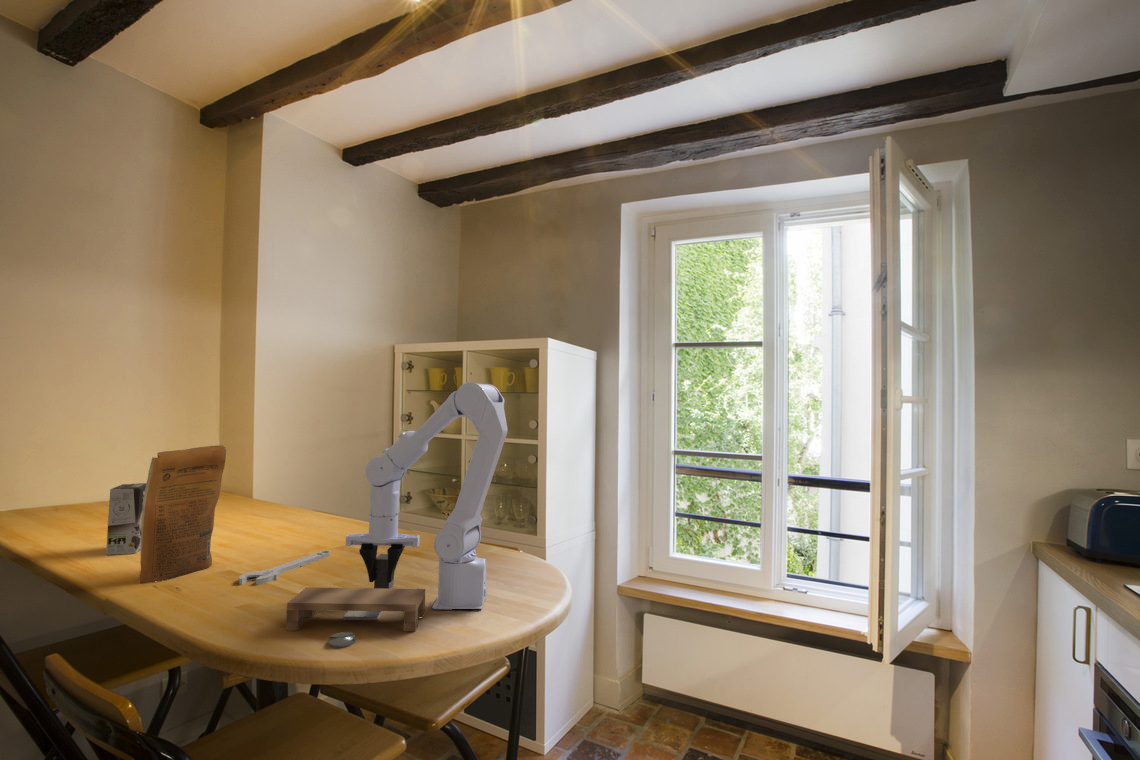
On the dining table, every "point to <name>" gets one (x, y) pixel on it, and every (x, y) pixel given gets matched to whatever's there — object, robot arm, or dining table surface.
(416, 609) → the walnut shelf
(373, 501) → the robot arm
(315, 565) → the dining table surface
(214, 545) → the dining table surface
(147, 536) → the pancake mix bag
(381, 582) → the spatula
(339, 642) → the steel disc
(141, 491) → the coffee box
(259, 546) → the dining table surface
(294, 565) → the adjustable wrench
